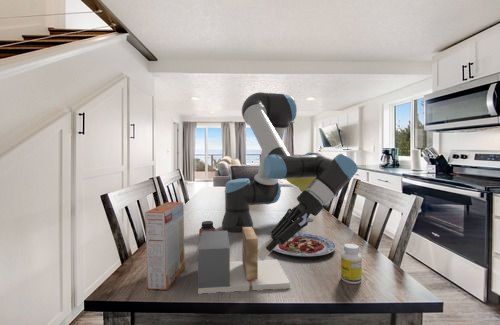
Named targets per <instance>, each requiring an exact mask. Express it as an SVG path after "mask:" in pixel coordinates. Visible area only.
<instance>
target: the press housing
mask: <svg viewBox="0 0 500 325" xmlns="http://www.w3.org/2000/svg"><path fill="white" fill-rule="evenodd" d="M230 248H231V247H230V240H229V231H225V230H216V231H202V233H201V237H200V242H198V248H197V279H198V280H197V284H198V286H197V287H198V288H197V290H198V295H202V294H201V293H208V294H217V293H216V292H225V293H234V292H233V291H241V292H250V291H249V290H257V291H264V290H263V289H273V290H287V288H290V289H291V282H290V280H289V278H288V276H287V274H286V273H285V271H284V269H283V267H282V266H281V264H280V262H279V260H278V259H264V260H263V261H262V260H261V259H260V260H259V259H258V279H255V280H246V276H245V271H244V267H243V262H242V260H239V261H237V260H236V261H231V260H230V257H231V256H230V254H231V250H230ZM230 291H232V292H230Z"/></svg>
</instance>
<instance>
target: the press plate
mask: <svg viewBox="0 0 500 325" xmlns="http://www.w3.org/2000/svg"><path fill="white" fill-rule="evenodd" d="M255 232H256V231H255V230H254V227H253V228H252V227H242V232H241V233H242V234H241V235H242V237H241V238H242V239H241V240H242V243H241V244H242V249H241V250H242V251H241V253H242V254H241V255H242V256H241V257H242V260H241V261H242V262H243V267H244V271H245V276H246V280H255V279H258V260H259V259H258V258H259V257H258V248H259V247H258V246H259V244H258V240H259V239H258V237H257V234H256V233H255Z"/></svg>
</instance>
